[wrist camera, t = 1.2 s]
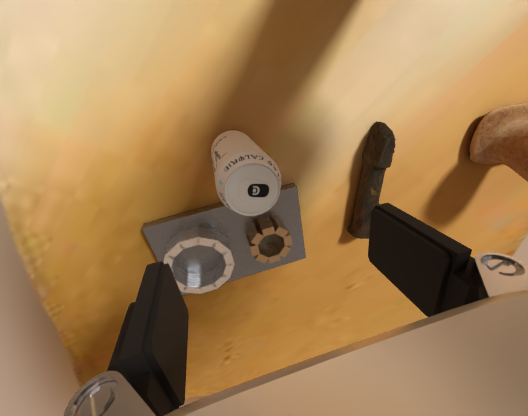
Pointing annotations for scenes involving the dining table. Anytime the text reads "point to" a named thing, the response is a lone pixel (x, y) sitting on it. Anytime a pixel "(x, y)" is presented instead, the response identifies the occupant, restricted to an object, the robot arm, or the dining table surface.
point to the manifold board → (227, 242)
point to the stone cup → (503, 138)
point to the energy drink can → (244, 174)
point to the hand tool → (372, 177)
